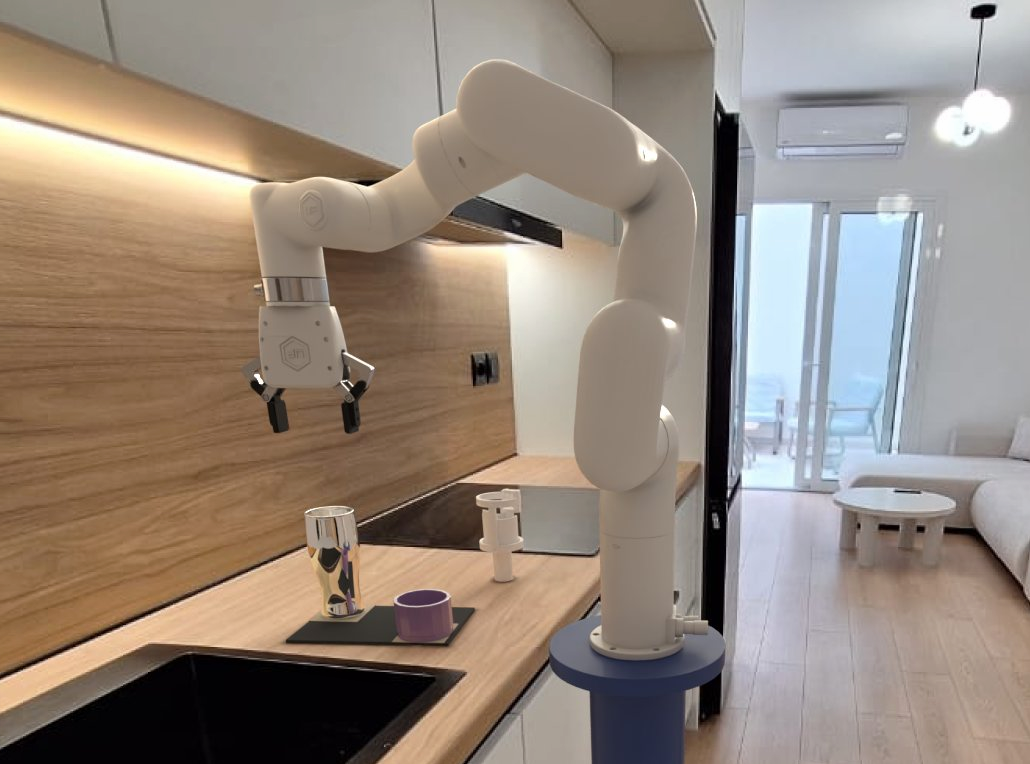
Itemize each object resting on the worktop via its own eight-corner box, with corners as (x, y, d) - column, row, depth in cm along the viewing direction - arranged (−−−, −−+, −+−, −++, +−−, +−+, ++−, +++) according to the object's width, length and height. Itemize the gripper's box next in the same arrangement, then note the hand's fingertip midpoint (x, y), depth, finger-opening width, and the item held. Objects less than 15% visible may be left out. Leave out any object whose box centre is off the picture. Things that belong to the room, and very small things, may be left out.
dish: (459, 623, 114) (456, 589, 112) (444, 643, 107) (441, 607, 105) (408, 622, 114) (404, 588, 112) (389, 642, 107) (385, 606, 105)
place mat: (474, 609, 120) (474, 606, 120) (448, 646, 107) (447, 642, 107) (330, 607, 121) (329, 604, 121) (285, 642, 108) (285, 639, 108)
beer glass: (365, 601, 122) (352, 503, 116) (371, 616, 116) (358, 514, 111) (316, 608, 119) (300, 508, 114) (320, 624, 113) (303, 519, 108)
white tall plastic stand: (517, 586, 130) (512, 494, 125) (476, 584, 131) (468, 492, 126) (530, 573, 137) (525, 485, 131) (490, 571, 138) (484, 484, 132)
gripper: (214, 293, 99) (239, 435, 105) (352, 293, 98) (369, 436, 104) (245, 295, 106) (267, 428, 112) (375, 294, 105) (390, 428, 111)
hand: (316, 432), depth 108 cm, fingers open, 9 cm apart
